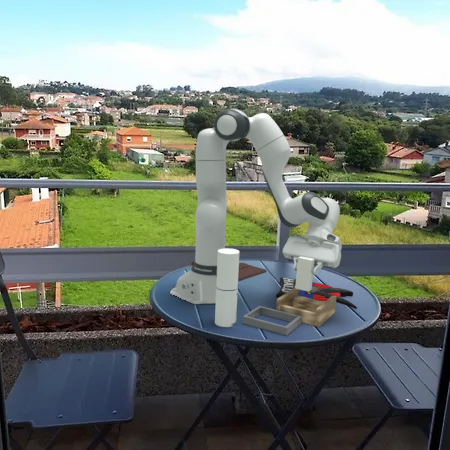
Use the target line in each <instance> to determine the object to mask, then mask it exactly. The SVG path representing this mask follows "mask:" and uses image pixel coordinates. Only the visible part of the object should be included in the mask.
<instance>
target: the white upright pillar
mask: <svg viewBox="0 0 450 450" xmlns="http://www.w3.org/2000/svg"><path fill="white" fill-rule="evenodd" d="M312 268H315V264H314V259H312V258H307V257H302V256H300V257H298V263H297V271H296V276H295V279H296V285H295V289H300V290H304V291H308V292H309V291H310V290H311V289H312V282H313V278H314V277H313V275H314V274H311V270H312Z"/></svg>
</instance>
